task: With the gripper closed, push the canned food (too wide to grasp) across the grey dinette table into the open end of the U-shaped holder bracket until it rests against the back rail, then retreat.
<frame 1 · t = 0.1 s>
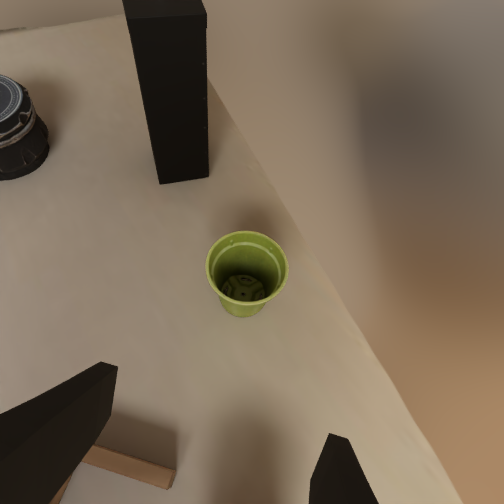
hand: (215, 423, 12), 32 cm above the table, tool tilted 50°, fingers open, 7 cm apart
plant pot: (242, 296, 49), on the table
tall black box: (180, 164, 60), on the table
container: (11, 154, 58), on the table
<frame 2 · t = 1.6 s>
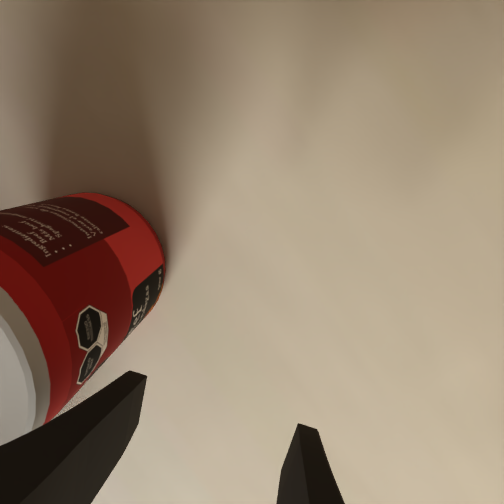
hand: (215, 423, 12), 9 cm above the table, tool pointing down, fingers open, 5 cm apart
canned food: (108, 257, 22), on the table
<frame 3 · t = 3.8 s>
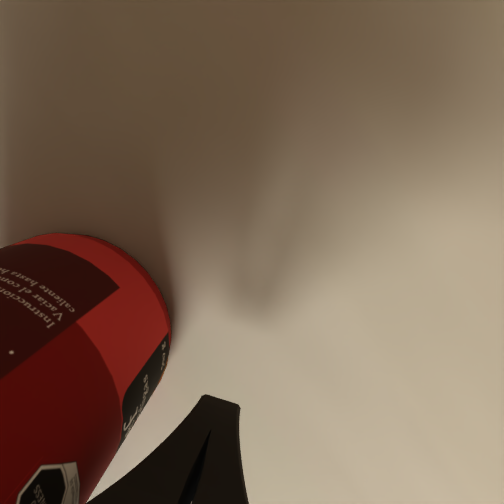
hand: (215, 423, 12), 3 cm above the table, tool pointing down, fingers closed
canned food: (93, 316, 16), on the table, touching gripper
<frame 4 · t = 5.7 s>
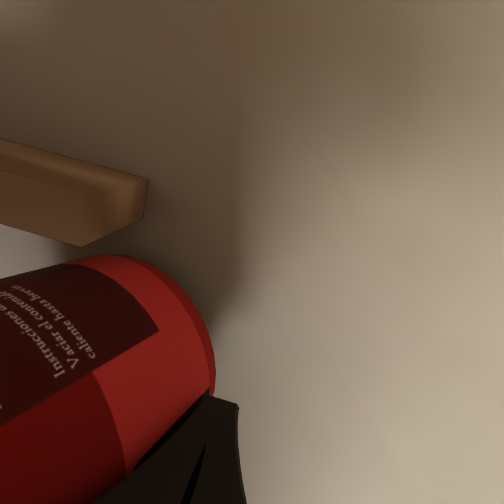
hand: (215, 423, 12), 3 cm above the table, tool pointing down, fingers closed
holder: (16, 297, 16), on the table
canned food: (140, 347, 15), point 1 cm above the table, touching gripper
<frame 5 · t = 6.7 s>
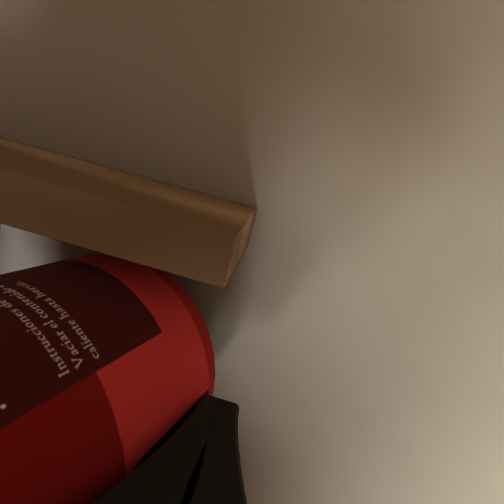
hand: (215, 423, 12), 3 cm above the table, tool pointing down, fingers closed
holder: (106, 324, 16), on the table
canned food: (140, 345, 15), point 1 cm above the table, touching gripper
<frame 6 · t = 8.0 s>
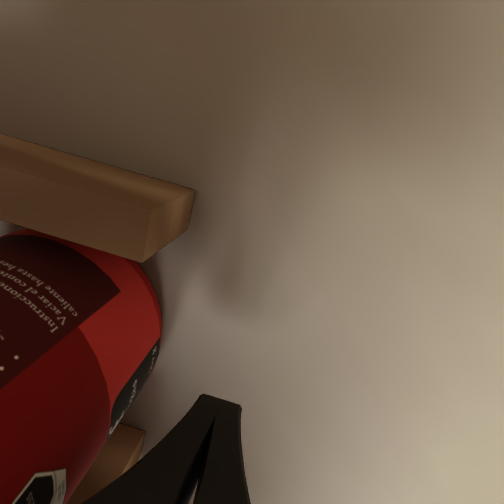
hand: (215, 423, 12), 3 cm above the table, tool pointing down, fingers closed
holder: (53, 305, 16), on the table
canned food: (84, 309, 16), on the table
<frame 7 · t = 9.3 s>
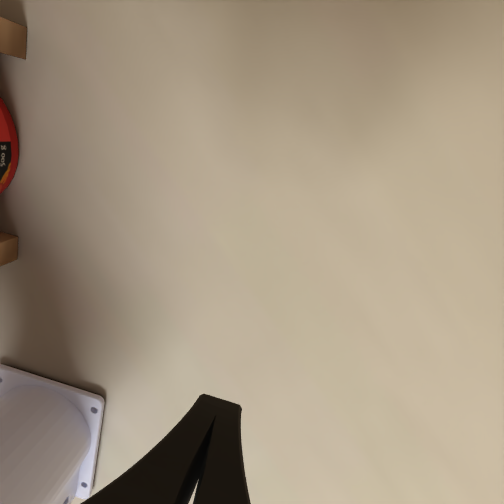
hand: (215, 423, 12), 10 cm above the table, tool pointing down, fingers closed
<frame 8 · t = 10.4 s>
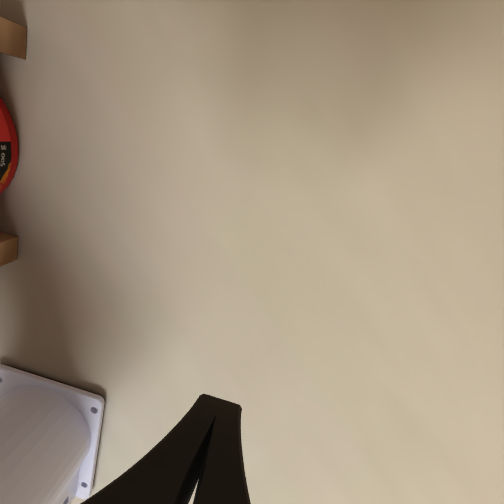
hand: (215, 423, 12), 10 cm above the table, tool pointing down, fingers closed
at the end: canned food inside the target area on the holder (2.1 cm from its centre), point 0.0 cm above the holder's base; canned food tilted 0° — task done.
